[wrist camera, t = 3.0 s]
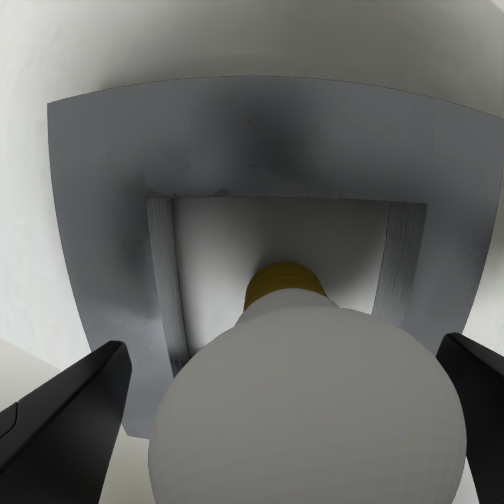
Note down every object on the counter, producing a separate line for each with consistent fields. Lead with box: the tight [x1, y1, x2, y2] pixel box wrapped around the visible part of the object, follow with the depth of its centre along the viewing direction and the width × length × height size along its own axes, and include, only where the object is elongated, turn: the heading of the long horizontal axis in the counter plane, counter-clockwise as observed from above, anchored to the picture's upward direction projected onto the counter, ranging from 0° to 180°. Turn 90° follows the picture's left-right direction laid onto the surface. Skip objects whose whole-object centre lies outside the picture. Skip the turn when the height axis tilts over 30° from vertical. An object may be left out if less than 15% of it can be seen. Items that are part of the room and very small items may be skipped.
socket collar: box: [47, 76, 504, 439], centre depth 10 cm, size 14×14×2 cm
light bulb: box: [148, 262, 467, 504], centre depth 7 cm, size 6×6×10 cm
